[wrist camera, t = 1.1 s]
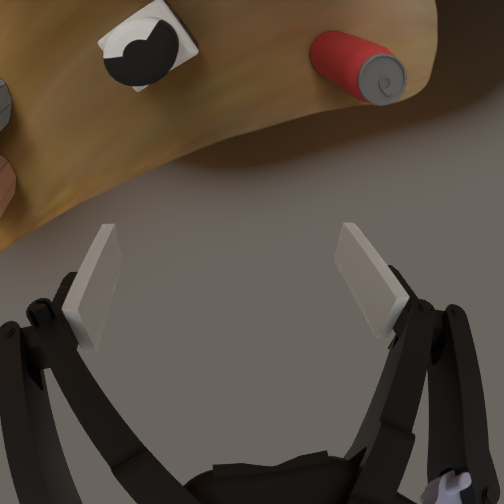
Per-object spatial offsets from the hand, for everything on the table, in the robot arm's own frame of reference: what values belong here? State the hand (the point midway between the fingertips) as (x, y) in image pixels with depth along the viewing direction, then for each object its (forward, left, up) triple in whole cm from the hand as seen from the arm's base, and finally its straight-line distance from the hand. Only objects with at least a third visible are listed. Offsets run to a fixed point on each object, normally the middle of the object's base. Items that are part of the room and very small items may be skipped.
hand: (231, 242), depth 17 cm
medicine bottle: (-7, -7, -24) cm, 27 cm away
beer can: (-10, +14, -24) cm, 30 cm away
